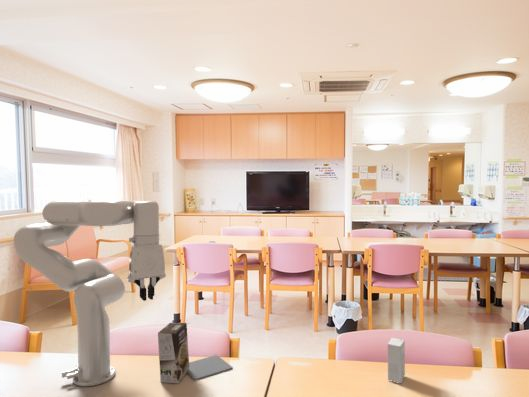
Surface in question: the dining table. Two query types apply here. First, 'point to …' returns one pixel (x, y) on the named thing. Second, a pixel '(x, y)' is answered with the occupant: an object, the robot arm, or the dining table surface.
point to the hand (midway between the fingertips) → (147, 298)
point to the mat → (207, 367)
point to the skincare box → (396, 360)
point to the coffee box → (173, 352)
